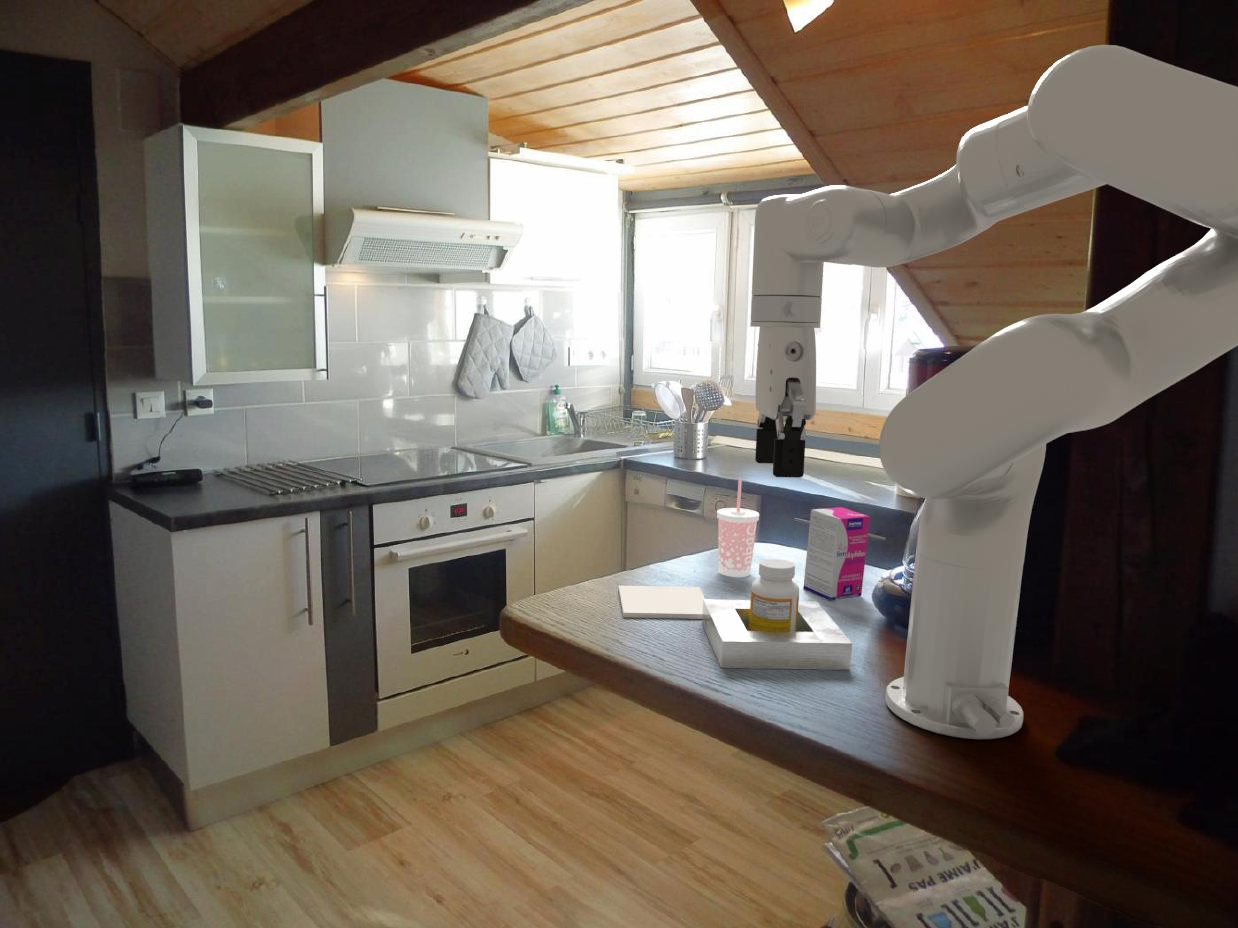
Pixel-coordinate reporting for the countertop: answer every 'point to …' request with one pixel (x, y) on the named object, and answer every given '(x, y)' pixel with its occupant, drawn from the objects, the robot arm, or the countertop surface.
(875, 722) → the countertop surface
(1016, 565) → the robot arm
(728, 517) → the beverage cup
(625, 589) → the plastic mat
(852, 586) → the supplement box
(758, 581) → the supplement bottle
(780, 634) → the concrete holder
